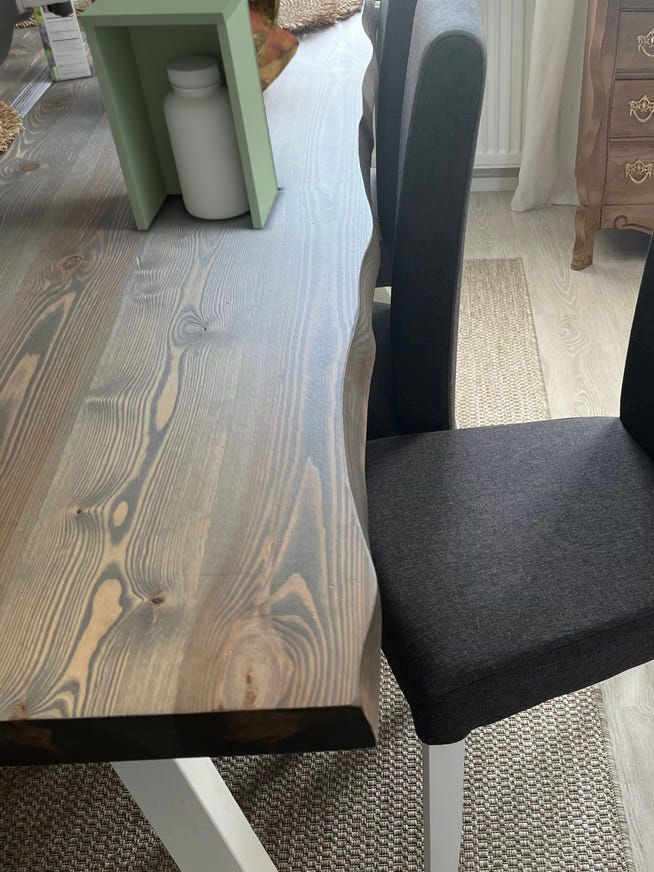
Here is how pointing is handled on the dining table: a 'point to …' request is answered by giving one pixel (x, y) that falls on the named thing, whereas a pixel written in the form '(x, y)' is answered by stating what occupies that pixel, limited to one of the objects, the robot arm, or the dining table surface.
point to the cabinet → (149, 85)
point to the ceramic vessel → (270, 40)
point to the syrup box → (62, 44)
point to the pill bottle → (204, 139)
